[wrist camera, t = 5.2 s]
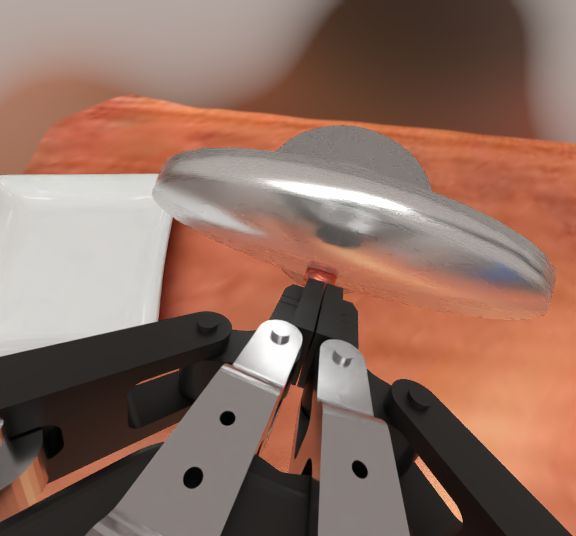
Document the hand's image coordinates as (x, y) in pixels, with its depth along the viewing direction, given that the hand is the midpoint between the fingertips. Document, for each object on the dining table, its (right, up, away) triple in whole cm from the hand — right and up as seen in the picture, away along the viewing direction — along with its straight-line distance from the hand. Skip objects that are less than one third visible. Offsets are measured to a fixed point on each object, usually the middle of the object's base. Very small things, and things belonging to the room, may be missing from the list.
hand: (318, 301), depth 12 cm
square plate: (-30, +1, +27) cm, 40 cm away
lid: (+1, +3, +6) cm, 7 cm away
